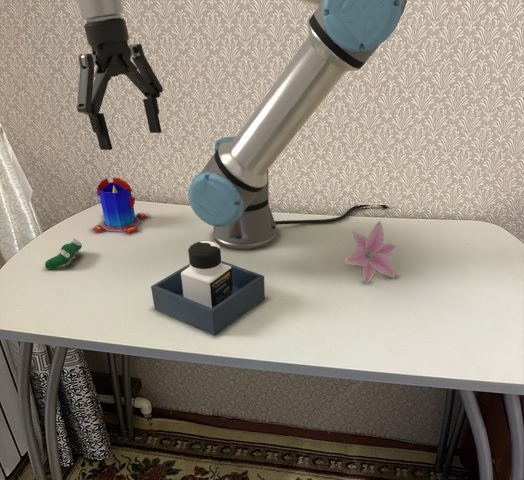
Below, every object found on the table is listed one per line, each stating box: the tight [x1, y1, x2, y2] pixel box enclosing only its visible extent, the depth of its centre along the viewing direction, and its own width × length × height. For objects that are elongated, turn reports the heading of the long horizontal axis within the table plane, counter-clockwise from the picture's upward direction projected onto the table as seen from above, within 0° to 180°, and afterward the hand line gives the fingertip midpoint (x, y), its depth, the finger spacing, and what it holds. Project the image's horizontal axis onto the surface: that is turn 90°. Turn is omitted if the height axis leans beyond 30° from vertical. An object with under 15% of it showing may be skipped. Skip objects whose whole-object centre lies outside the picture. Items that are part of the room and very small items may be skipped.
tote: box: [150, 260, 266, 336], centre depth 110 cm, size 16×16×5 cm
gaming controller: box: [44, 238, 83, 270], centre depth 127 cm, size 9×4×6 cm
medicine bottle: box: [181, 240, 233, 308], centre depth 108 cm, size 7×7×12 cm
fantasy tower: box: [92, 177, 149, 235], centre depth 140 cm, size 12×12×12 cm
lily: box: [344, 220, 398, 284], centre depth 119 cm, size 12×12×10 cm
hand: (132, 140), depth 113 cm, fingers open, 13 cm apart
